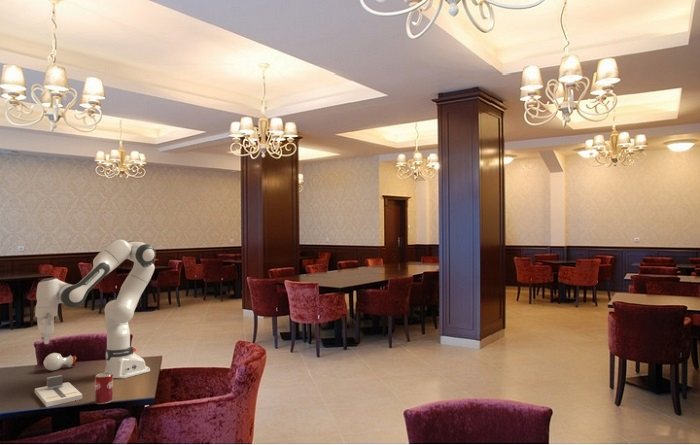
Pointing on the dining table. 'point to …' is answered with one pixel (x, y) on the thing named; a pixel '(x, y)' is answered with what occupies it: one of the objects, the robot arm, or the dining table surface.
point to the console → (58, 394)
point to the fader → (55, 382)
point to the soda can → (103, 388)
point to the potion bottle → (58, 361)
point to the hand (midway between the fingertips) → (44, 342)
